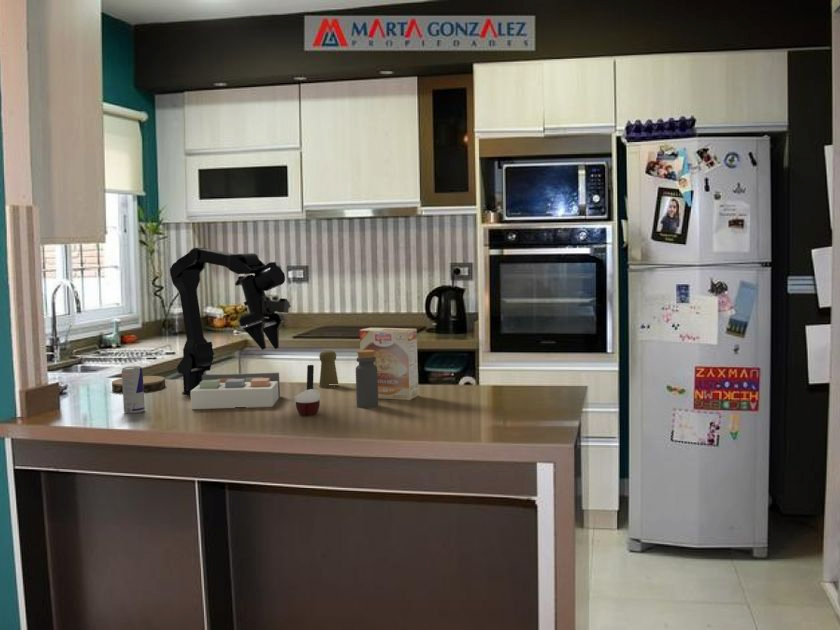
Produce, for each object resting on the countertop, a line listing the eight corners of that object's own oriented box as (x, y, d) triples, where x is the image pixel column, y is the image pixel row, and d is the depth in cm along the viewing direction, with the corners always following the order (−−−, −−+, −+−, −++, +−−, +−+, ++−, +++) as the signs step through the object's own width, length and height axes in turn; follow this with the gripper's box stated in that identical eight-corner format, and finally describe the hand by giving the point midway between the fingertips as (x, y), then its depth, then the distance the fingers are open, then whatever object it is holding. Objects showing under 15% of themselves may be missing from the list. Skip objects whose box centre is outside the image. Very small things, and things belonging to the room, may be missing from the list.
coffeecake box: (360, 398, 237) (358, 329, 235) (371, 393, 243) (369, 327, 242) (409, 400, 231) (407, 330, 229) (419, 395, 238) (417, 327, 236)
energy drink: (149, 410, 227) (146, 366, 226) (136, 414, 222) (133, 369, 221) (132, 409, 229) (130, 366, 228) (119, 413, 224) (117, 369, 223)
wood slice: (163, 392, 256) (162, 382, 256) (108, 395, 253) (107, 385, 252) (167, 383, 271) (167, 374, 271) (116, 386, 268) (115, 377, 268)
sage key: (200, 396, 230) (199, 382, 230) (204, 393, 235) (203, 379, 234) (217, 396, 230) (216, 382, 230) (220, 393, 235) (219, 379, 235)
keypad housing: (191, 409, 227) (189, 383, 226) (203, 398, 242) (202, 374, 241) (272, 406, 227) (271, 381, 227) (280, 396, 242) (279, 372, 242)
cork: (340, 384, 260) (339, 349, 259) (336, 387, 254) (335, 351, 253) (321, 384, 261) (320, 349, 260) (317, 387, 255) (315, 352, 254)
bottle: (382, 404, 227) (380, 349, 225) (372, 408, 221) (370, 352, 220) (363, 403, 229) (361, 349, 228) (352, 407, 224) (350, 351, 222)
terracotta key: (251, 395, 231) (250, 381, 230) (254, 392, 235) (253, 378, 235) (267, 394, 231) (267, 380, 230) (270, 391, 235) (269, 377, 235)
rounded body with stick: (308, 419, 212) (307, 373, 210) (288, 417, 214) (286, 371, 213) (329, 410, 220) (327, 366, 218) (309, 408, 223) (308, 364, 221)
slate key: (225, 396, 230) (225, 381, 230) (229, 393, 235) (228, 379, 235) (242, 395, 231) (241, 381, 230) (245, 392, 235) (244, 378, 235)
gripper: (267, 285, 225) (283, 340, 224) (293, 288, 243) (308, 340, 242) (231, 298, 227) (246, 352, 226) (258, 300, 245) (273, 351, 244)
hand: (270, 348), depth 234 cm, fingers open, 9 cm apart
